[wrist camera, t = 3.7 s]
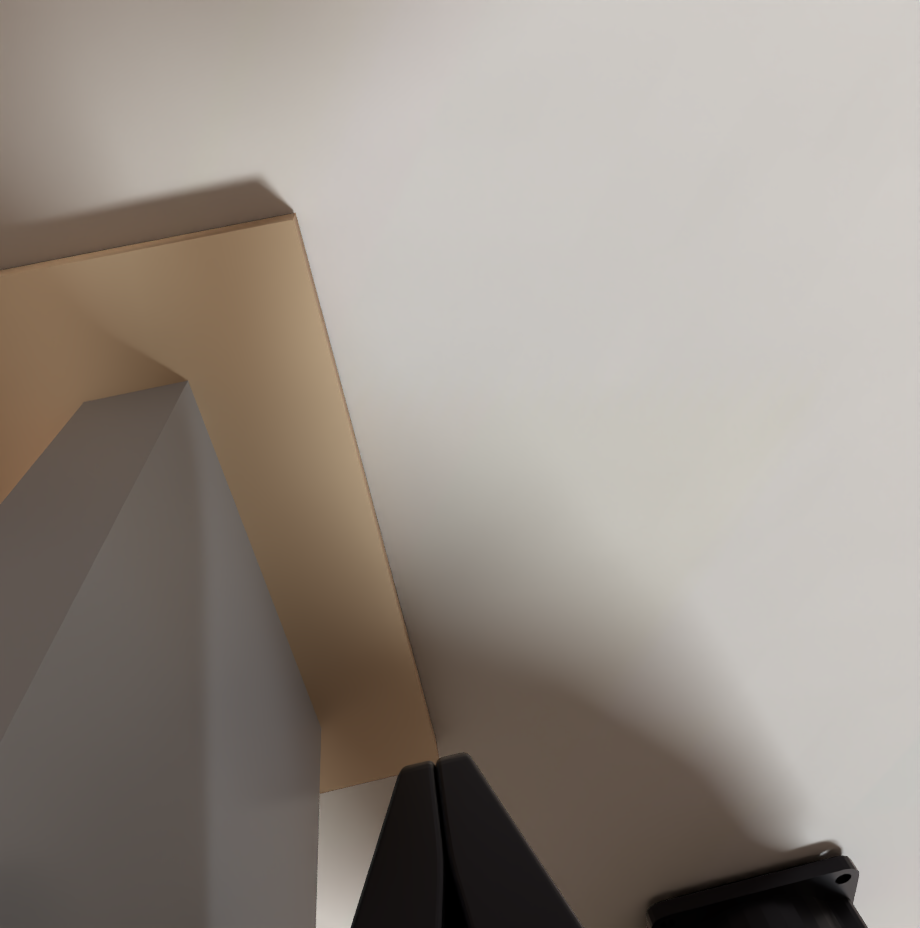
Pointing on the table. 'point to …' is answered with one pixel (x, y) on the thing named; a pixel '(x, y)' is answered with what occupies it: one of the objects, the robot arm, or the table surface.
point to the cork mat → (238, 446)
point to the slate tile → (147, 690)
